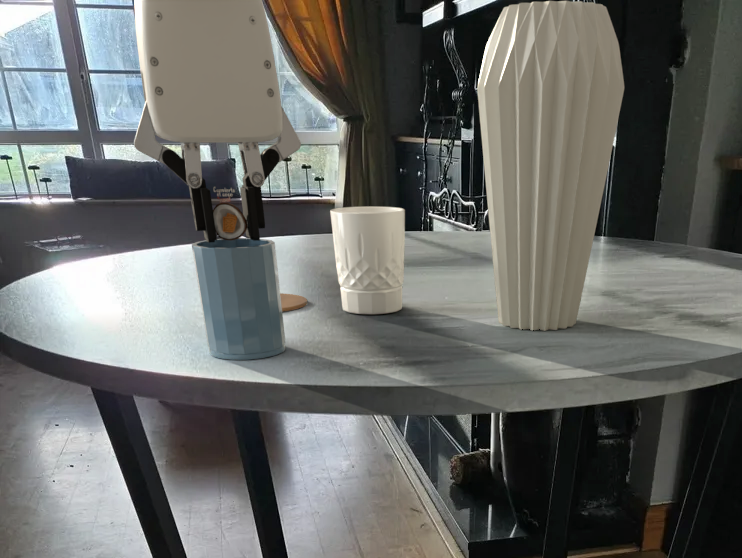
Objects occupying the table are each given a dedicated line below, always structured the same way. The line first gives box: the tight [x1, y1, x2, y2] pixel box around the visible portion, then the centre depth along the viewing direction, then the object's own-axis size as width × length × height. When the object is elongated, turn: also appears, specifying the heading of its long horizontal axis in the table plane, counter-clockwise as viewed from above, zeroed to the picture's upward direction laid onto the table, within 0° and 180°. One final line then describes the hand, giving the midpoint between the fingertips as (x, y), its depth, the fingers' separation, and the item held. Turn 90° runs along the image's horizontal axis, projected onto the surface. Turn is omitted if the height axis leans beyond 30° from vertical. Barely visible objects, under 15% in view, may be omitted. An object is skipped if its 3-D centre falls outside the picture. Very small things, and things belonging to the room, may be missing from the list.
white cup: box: [329, 206, 406, 315], centre depth 85 cm, size 8×8×10 cm
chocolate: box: [212, 186, 248, 241], centre depth 65 cm, size 3×2×4 cm
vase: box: [476, 0, 625, 332], centre depth 74 cm, size 13×13×26 cm
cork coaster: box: [280, 292, 308, 313], centre depth 89 cm, size 10×10×1 cm
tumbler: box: [191, 237, 286, 361], centre depth 69 cm, size 7×7×9 cm
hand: (231, 237), depth 66 cm, fingers closed on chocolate, 3 cm apart
